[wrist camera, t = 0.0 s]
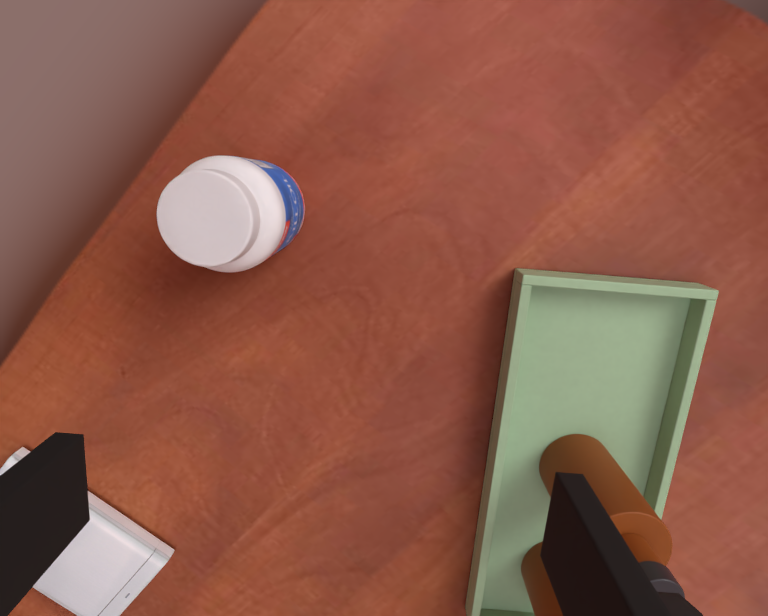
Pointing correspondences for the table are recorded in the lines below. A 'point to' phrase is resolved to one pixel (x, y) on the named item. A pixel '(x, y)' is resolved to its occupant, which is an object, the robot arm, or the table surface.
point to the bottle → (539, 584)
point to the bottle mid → (615, 503)
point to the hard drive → (101, 561)
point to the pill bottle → (230, 212)
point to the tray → (582, 403)
